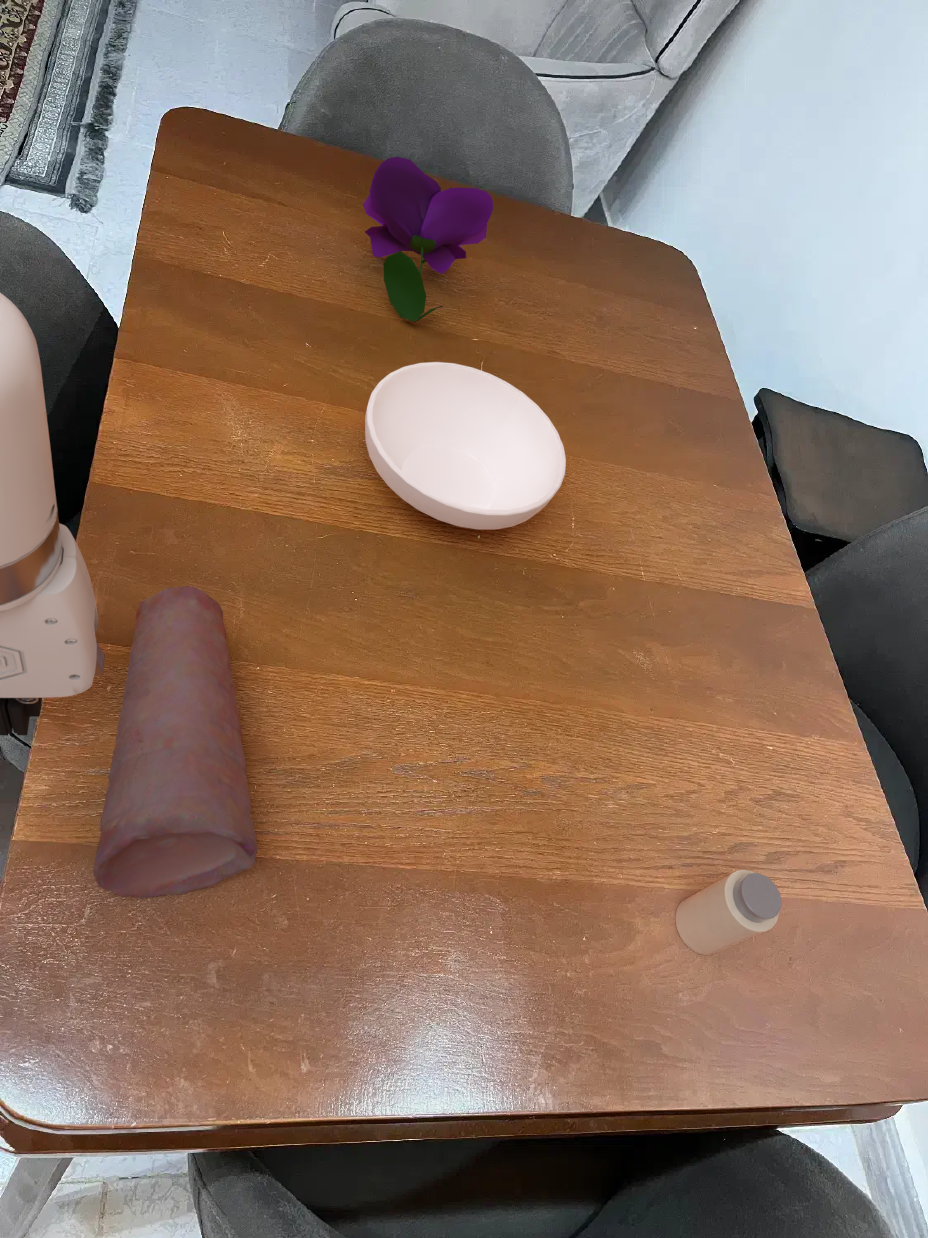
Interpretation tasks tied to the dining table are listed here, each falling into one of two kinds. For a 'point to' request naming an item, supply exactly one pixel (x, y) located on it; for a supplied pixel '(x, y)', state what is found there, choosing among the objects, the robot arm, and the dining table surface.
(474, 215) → the flower
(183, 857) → the brown tapered cylinder
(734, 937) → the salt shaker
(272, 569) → the dining table surface
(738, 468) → the dining table surface
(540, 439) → the bowl
